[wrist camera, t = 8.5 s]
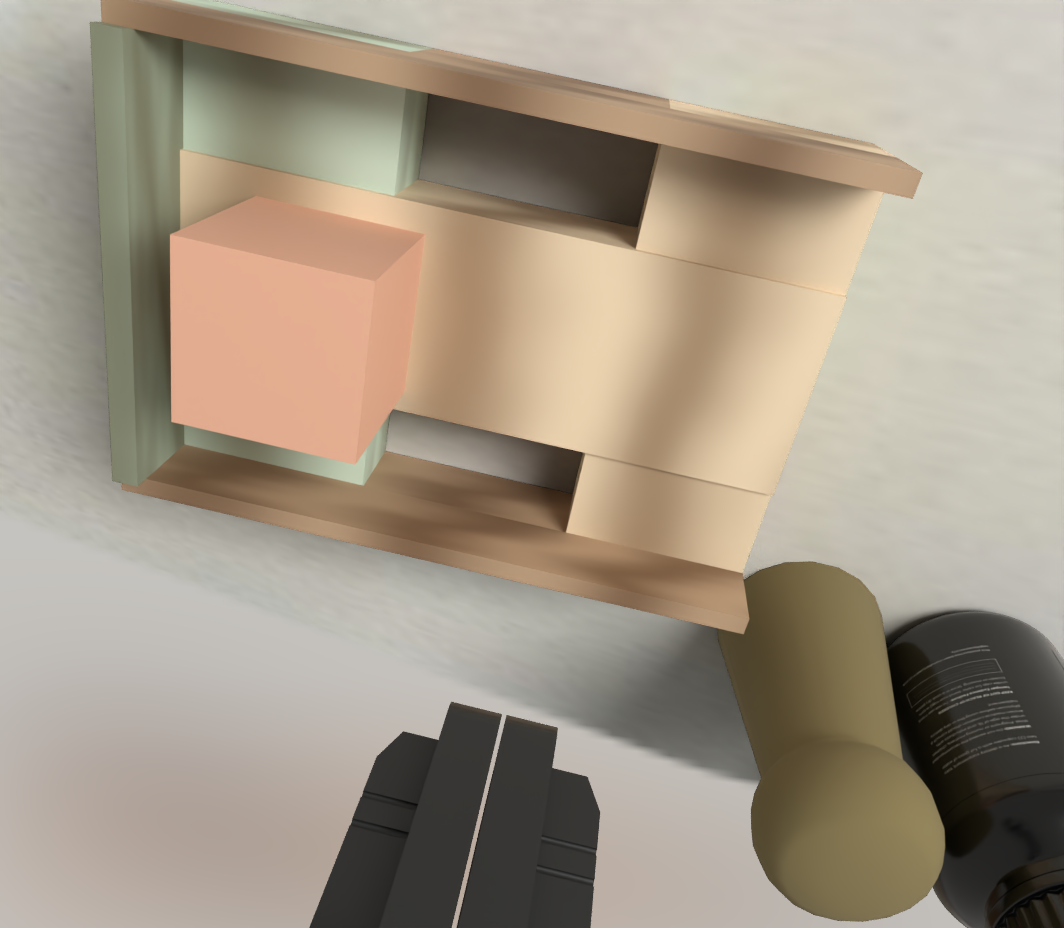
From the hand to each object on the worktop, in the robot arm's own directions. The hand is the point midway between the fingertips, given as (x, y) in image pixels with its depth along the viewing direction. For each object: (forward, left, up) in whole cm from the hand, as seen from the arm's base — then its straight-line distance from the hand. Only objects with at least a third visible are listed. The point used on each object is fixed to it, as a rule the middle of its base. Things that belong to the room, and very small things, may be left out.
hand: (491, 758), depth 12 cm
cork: (-10, +10, -19) cm, 24 cm away
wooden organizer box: (+3, 0, -19) cm, 19 cm away
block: (+8, 0, -16) cm, 18 cm away
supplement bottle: (-17, +10, -19) cm, 27 cm away
